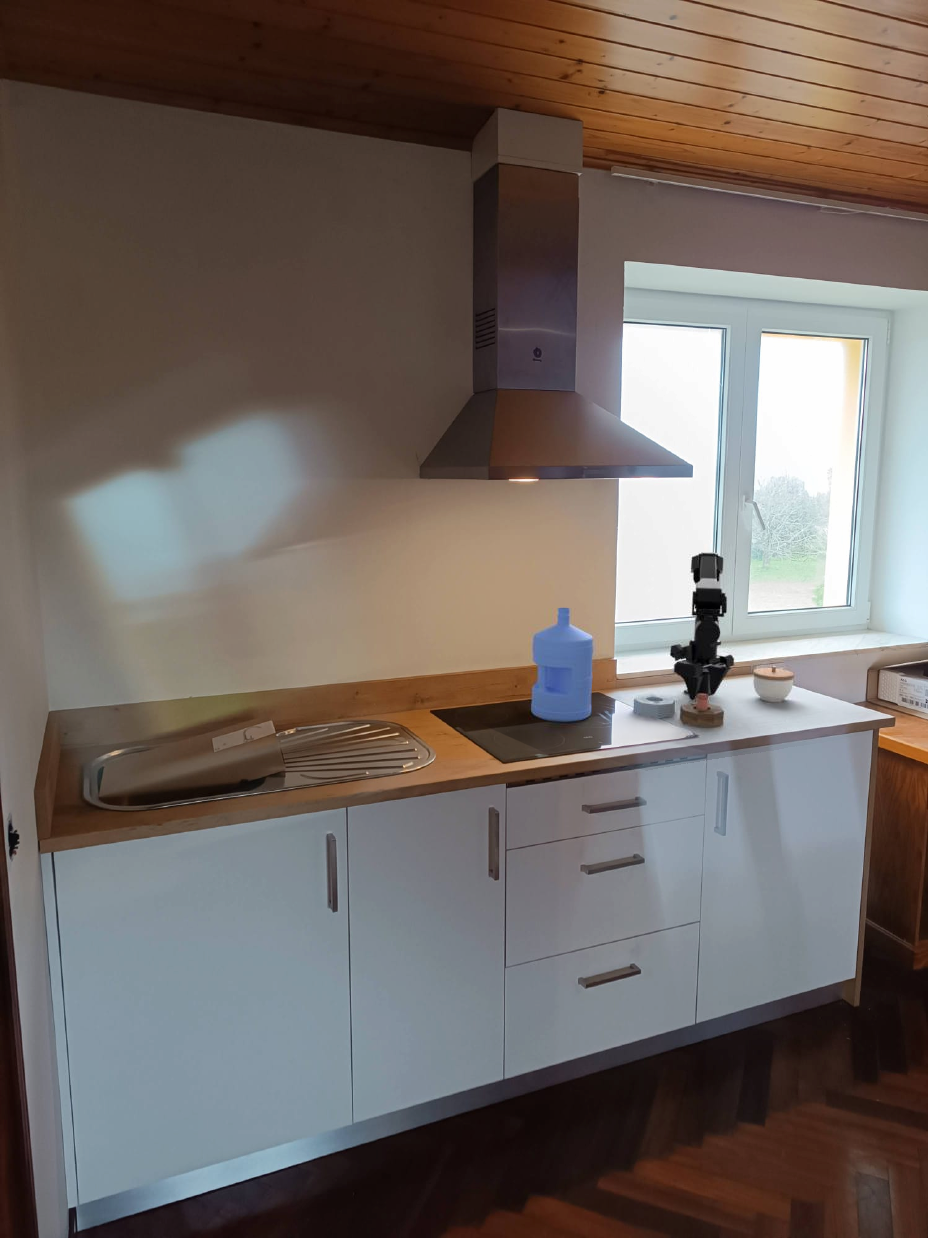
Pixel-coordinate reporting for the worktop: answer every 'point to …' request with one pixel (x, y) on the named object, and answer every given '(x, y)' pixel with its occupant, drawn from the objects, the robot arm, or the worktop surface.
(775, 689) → the lidded jar
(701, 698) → the pink rounded cylinder
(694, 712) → the walnut bead
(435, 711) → the worktop surface
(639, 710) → the blue bead
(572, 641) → the water jug
